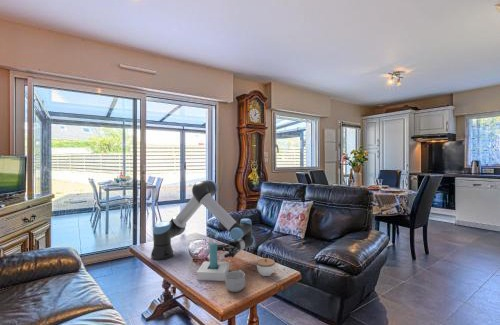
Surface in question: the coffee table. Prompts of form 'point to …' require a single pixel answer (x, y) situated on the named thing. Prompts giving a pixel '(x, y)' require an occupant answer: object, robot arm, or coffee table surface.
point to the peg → (213, 256)
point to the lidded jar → (265, 266)
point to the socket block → (213, 271)
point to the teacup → (235, 280)
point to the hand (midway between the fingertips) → (211, 254)
